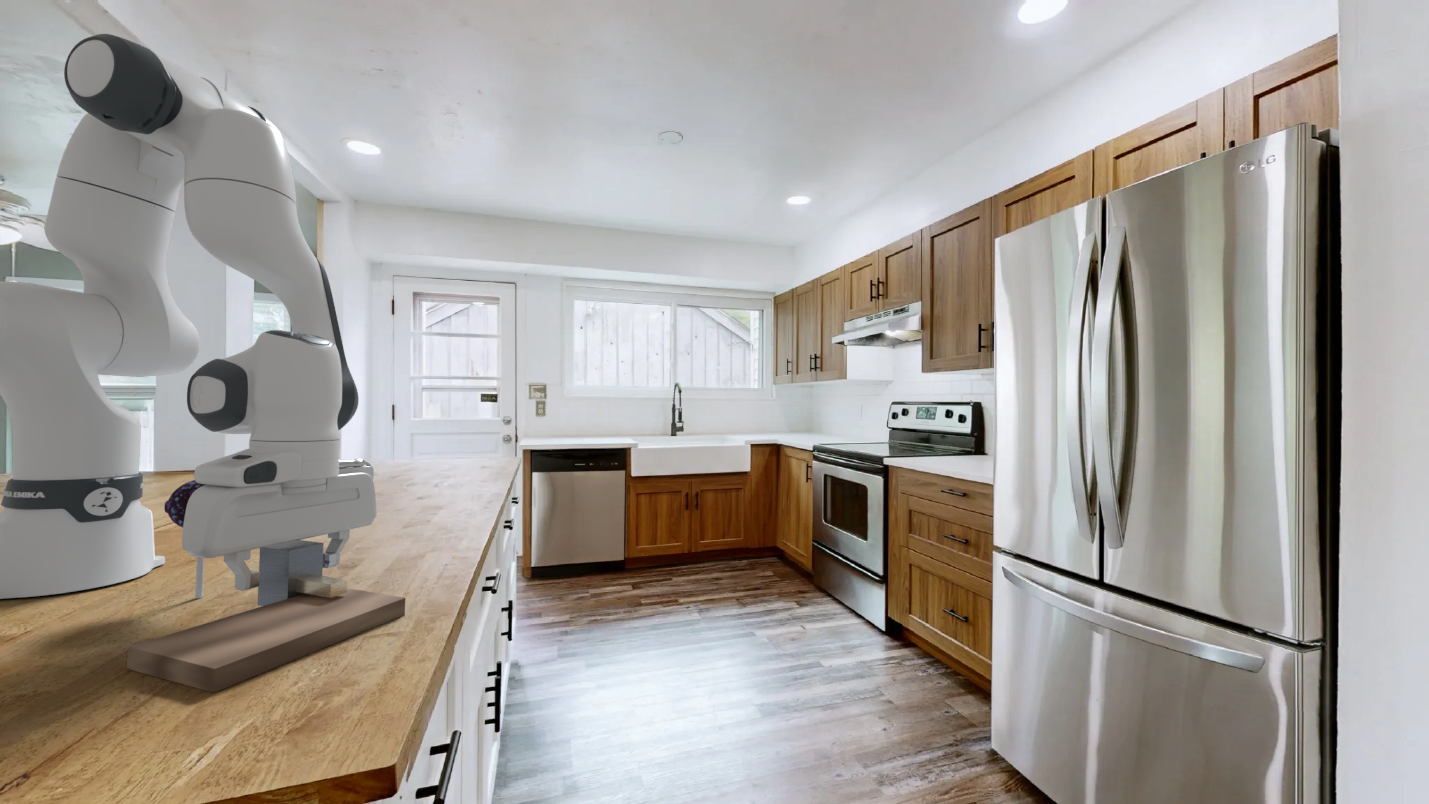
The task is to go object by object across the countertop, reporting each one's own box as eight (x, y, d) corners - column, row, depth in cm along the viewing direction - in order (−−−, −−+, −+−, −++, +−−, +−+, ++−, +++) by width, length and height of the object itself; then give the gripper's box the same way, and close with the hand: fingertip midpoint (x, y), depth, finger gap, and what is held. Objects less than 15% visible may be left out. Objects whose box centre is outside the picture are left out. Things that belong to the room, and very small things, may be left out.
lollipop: (188, 610, 64) (194, 483, 64) (144, 604, 65) (150, 480, 65) (249, 591, 70) (254, 476, 71) (208, 586, 72) (213, 474, 72)
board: (127, 668, 49) (128, 645, 49) (330, 601, 67) (331, 584, 68) (213, 692, 46) (214, 667, 46) (404, 614, 64) (405, 596, 64)
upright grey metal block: (257, 605, 64) (260, 546, 64) (292, 594, 68) (295, 539, 68) (321, 617, 61) (323, 555, 61) (354, 605, 65) (356, 547, 65)
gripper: (356, 456, 77) (352, 553, 76) (175, 469, 57) (169, 600, 57) (390, 458, 75) (386, 558, 74) (215, 472, 55) (208, 608, 55)
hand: (290, 576), depth 66 cm, fingers open, 8 cm apart
